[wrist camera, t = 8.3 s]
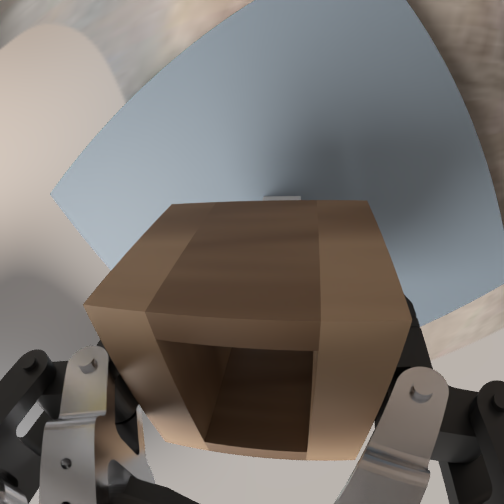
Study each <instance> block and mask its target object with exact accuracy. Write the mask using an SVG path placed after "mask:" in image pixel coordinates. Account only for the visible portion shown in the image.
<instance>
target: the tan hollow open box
mask: <svg viewBox="0 0 504 504" xmlns="http://www.w3.org/2000/svg"><path fill="white" fill-rule="evenodd" d="M83 306H84V308H85V310H86V312H87V314H88V316H89V318H90V320H91V322H92V324H93V326H94V328H95V330H96V332H97V334H98V336H99V337H100V340H101V341H102V343H103V345H104V347H105V349H106V351H107V352H108V354H109V356H110V358H111V359H112V361H113V363H114V365H115V366H116V368H117V370H118V371H119V373H120V375H121V376H122V378H123V380H124V381H125V383H126V385H127V386H128V388H129V389H130V391H131V392H132V394H133V396H134V397H135V399H136V400H137V402H138V403H139V405H140V406H141V408H142V409H143V411H144V412H145V414H146V415H147V417H148V418H149V419H150V421H151V422H152V424H153V425H154V426H155V428H156V429H157V431H158V432H159V433H160V435H161V436H162V438H164V440H165V441H166V442H169V443H173V444H178V445H182V446H187V447H192V448H197V449H203V450H209V451H215V452H221V453H228V454H235V455H243V456H252V457H262V458H274V459H289V460H324V461H327V460H355V459H356V457H357V455H358V453H359V451H360V449H361V447H362V445H363V443H364V441H365V439H366V437H367V435H368V433H369V431H370V429H371V426H372V425H373V422H374V420H375V418H376V416H377V414H378V411H379V409H380V407H381V405H382V402H383V400H384V397H385V395H386V393H387V390H388V388H389V385H390V383H391V380H392V378H393V375H394V372H395V370H396V367H397V364H398V362H399V359H400V356H401V353H402V350H403V347H404V344H405V341H406V338H407V335H408V332H409V329H410V326H411V323H412V317H411V314H410V311H409V308H408V305H407V302H406V299H405V296H404V293H403V290H402V287H401V284H400V281H399V279H398V276H397V273H396V270H395V267H394V265H393V262H392V259H391V257H390V254H389V252H388V249H387V246H386V244H385V241H384V239H383V236H382V234H381V232H380V229H379V227H378V224H377V222H376V220H375V217H374V215H373V213H372V210H371V208H370V206H369V203H368V201H367V200H268V201H230V202H205V203H184V204H171V205H170V206H169V208H168V209H167V210H166V211H165V212H164V213H163V214H162V215H161V216H160V217H159V218H158V219H157V220H156V221H155V222H154V223H153V224H152V225H151V227H150V228H149V229H148V230H147V231H146V232H145V233H144V234H143V235H142V236H141V237H140V238H139V240H138V241H137V242H136V243H135V244H134V245H133V246H132V247H131V248H130V250H129V251H128V252H127V253H126V254H125V255H124V256H123V257H122V259H121V260H120V261H119V262H118V263H117V264H116V265H115V267H114V268H113V269H112V270H111V271H110V272H109V274H108V275H107V276H106V277H105V279H104V280H103V281H102V282H101V283H100V284H99V286H98V287H97V288H96V289H95V291H94V292H93V293H92V294H91V295H90V296H89V298H88V299H87V300H86V301H85V303H84V304H83Z"/></svg>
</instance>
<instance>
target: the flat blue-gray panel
mask: <svg viewBox="0 0 504 504" xmlns="http://www.w3.org/2000/svg"><path fill="white" fill-rule="evenodd" d="M50 195H51V196H52V198H53V199H54V200H55V201H56V203H57V204H58V206H59V207H60V208H61V210H62V211H63V212H64V214H65V215H66V216H67V218H68V219H69V220H70V221H71V223H72V224H73V225H74V227H75V228H76V229H77V230H78V232H79V233H80V234H81V235H82V237H83V238H84V239H85V240H86V241H87V243H88V244H89V245H90V246H91V248H92V249H93V250H94V251H95V252H96V254H97V255H98V256H99V257H100V258H101V259H102V261H103V262H104V263H105V264H106V265H107V266H108V268H109V269H110V270H112V269H113V268H114V267H115V265H116V264H117V263H118V262H119V261H120V260H121V259H122V257H123V256H124V255H125V254H126V253H127V252H128V251H129V250H130V248H131V247H132V246H133V245H134V244H135V243H136V242H137V241H138V240H139V238H140V237H141V236H142V235H143V234H144V233H145V232H146V231H147V230H148V229H149V228H150V227H151V225H152V224H153V223H154V222H155V221H156V220H157V219H158V218H159V217H160V216H161V215H162V214H163V213H164V212H165V211H166V210H167V209H168V208H169V206H170V205H171V204H184V203H205V202H230V201H268V200H367V201H368V203H369V206H370V208H371V210H372V213H373V215H374V217H375V220H376V222H377V224H378V227H379V229H380V232H381V234H382V236H383V239H384V241H385V244H386V246H387V249H388V252H389V254H390V257H391V259H392V262H393V265H394V267H395V270H396V273H397V276H398V279H399V281H400V284H401V287H402V290H403V293H404V295H405V296H406V297H407V298H408V299H409V300H410V301H411V302H412V303H413V306H414V309H415V312H416V315H417V316H416V318H418V321H419V324H420V326H423V325H425V324H427V323H429V322H431V321H433V320H436V319H438V318H440V317H442V316H444V315H446V314H448V313H450V312H452V311H454V310H456V309H458V308H460V307H462V306H464V305H466V304H468V303H470V302H472V301H474V300H475V299H477V298H479V297H481V296H483V295H485V294H487V293H488V292H490V291H492V290H494V289H495V288H497V287H499V286H501V285H502V284H504V229H503V224H502V219H501V214H500V210H499V205H498V201H497V197H496V193H495V189H494V186H493V182H492V178H491V175H490V172H489V168H488V165H487V162H486V159H485V156H484V153H483V150H482V147H481V144H480V141H479V138H478V135H477V133H476V130H475V128H474V125H473V122H472V120H471V117H470V115H469V113H468V110H467V108H466V105H465V103H464V101H463V99H462V96H461V94H460V92H459V90H458V88H457V86H456V84H455V82H454V79H453V77H452V75H451V73H450V72H449V70H448V68H447V66H446V64H445V62H444V60H443V58H442V56H441V55H440V53H439V51H438V49H437V48H436V46H435V44H434V42H433V41H432V39H431V37H430V36H429V34H428V32H427V31H426V29H425V28H424V26H423V24H422V23H421V21H420V20H419V18H418V17H417V15H416V14H415V12H414V11H413V9H412V8H411V7H410V5H409V4H408V2H407V1H406V0H254V1H253V2H251V3H250V4H248V5H246V6H245V7H243V8H242V9H240V10H239V11H237V12H236V13H234V14H233V15H231V16H230V17H228V18H227V19H225V20H224V21H223V22H221V23H220V24H218V25H217V26H216V27H214V28H213V29H211V30H210V31H209V32H207V33H206V34H205V35H203V36H202V37H201V38H200V39H198V40H197V41H196V42H194V43H193V44H192V45H191V46H189V47H188V48H187V49H186V50H184V51H183V52H182V53H181V54H179V55H178V56H177V57H176V58H175V59H173V60H172V61H171V62H170V63H169V64H168V65H166V66H165V67H164V68H163V69H162V70H161V71H160V72H159V73H157V74H156V75H155V76H154V77H153V78H152V79H151V80H150V81H149V82H148V83H147V84H145V85H144V86H143V87H142V88H141V89H140V90H139V91H138V92H137V93H136V94H135V95H134V96H133V97H132V98H131V99H130V100H129V101H128V102H127V103H126V104H125V105H124V106H123V107H122V108H121V109H120V110H119V111H118V112H117V113H116V115H114V116H113V118H112V119H111V120H110V121H109V122H108V123H107V124H106V125H105V126H104V127H103V128H102V130H101V131H100V132H99V133H98V134H97V135H96V136H95V137H94V139H93V140H92V141H91V142H90V143H89V145H88V146H87V147H86V148H85V149H84V150H83V152H82V153H81V154H80V155H79V156H78V158H77V159H76V160H75V162H74V163H73V164H72V165H71V167H70V168H69V169H68V170H67V172H66V173H65V174H64V176H63V177H62V178H61V180H60V181H59V182H58V184H57V185H56V186H55V188H54V189H53V191H52V192H51V193H50Z"/></svg>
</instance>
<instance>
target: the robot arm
mask: <svg viewBox="0 0 504 504" xmlns="http://www.w3.org/2000/svg"><path fill="white" fill-rule="evenodd" d="M404 296H405V295H404ZM405 299H406V302H407V305H408V308H409V311H410V314H411V317H412V323H411V326H410V329H409V332H408V335H407V338H406V341H405V344H404V347H403V350H402V353H401V356H400V359H399V362H398V364H397V367H396V370H395V372H394V375H393V378H392V380H391V383H390V385H389V388H388V390H387V393H386V395H385V397H384V400H383V402H382V405H381V407H380V409H379V411H378V414H377V416H376V418H375V430H374V432H373V434H372V436H371V438H370V440H369V442H368V444H367V446H366V448H365V450H364V452H363V454H362V456H361V458H360V460H359V461H358V463H357V465H356V467H355V469H354V471H353V472H352V474H351V476H350V478H349V480H348V482H347V483H346V485H345V487H344V488H343V490H342V491H341V493H340V495H339V496H338V498H337V500H336V501H335V503H334V504H420V502H421V500H422V497H423V495H424V493H425V490H426V488H427V485H428V482H429V478H430V471H429V470H428V464H429V461H430V460H436V461H439V465H440V468H441V472H442V476H443V479H444V483H445V487H446V491H447V495H448V499H449V504H504V382H503V381H491V382H488V383H486V384H485V385H484V386H483V387H482V388H481V390H480V391H479V392H474V391H469V390H462V389H457V388H454V387H451V386H449V385H448V384H447V382H446V380H445V379H444V377H443V376H442V375H441V374H440V373H438V372H437V371H435V370H433V368H432V365H431V361H430V358H429V354H428V351H427V347H426V344H425V341H424V337H423V334H422V331H421V328H420V324H419V321H418V318H416V316H417V315H416V312H415V309H414V306H413V303H412V302H411V301H410V300H409V299H408V298H407V297H406V296H405ZM36 402H37V403H38V404H39V405H40V406H41V408H42V409H43V410H44V412H43V413H42V414H41V415H40V417H39V418H38V419H37V421H36V422H35V424H34V425H33V426H32V427H31V429H30V430H29V431H28V433H27V434H26V435H25V436H24V437H17V436H16V428H17V426H18V425H19V423H20V422H21V421H22V419H23V418H24V417H25V415H26V414H27V413H28V412H29V410H30V409H31V408H32V406H33V405H34V404H35V403H36ZM39 487H40V488H39ZM38 488H39V504H199V503H197V502H195V501H192V500H191V499H189V498H187V497H185V496H183V495H181V494H179V493H177V492H175V491H173V490H171V489H169V488H167V487H164V486H160V485H157V484H155V480H154V477H153V474H152V471H151V469H150V467H149V465H148V463H147V459H146V454H145V444H144V434H143V423H142V411H141V407H140V406H139V403H138V402H137V400H136V399H135V397H134V396H133V394H132V392H131V391H130V389H129V388H128V386H127V385H126V383H125V381H124V380H123V378H122V376H121V375H120V373H119V371H118V370H117V368H116V366H115V365H114V363H113V361H112V359H111V358H110V356H109V354H108V352H107V351H106V349H105V347H104V345H103V343H102V341H101V340H100V341H99V342H98V344H97V346H87V347H84V348H82V349H80V350H78V351H77V352H75V353H74V354H73V355H72V357H71V358H70V359H69V361H60V362H52V361H51V360H50V359H49V357H48V356H47V354H46V353H45V352H44V351H42V350H32V351H29V352H27V353H26V354H24V355H23V356H22V357H21V358H20V359H19V360H18V361H17V362H16V363H15V364H14V366H13V367H12V368H11V369H10V370H9V371H8V373H7V374H6V375H5V376H4V377H3V378H2V380H1V381H0V504H29V502H30V501H31V499H32V497H33V496H34V494H35V493H36V491H37V490H38Z"/></svg>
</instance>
